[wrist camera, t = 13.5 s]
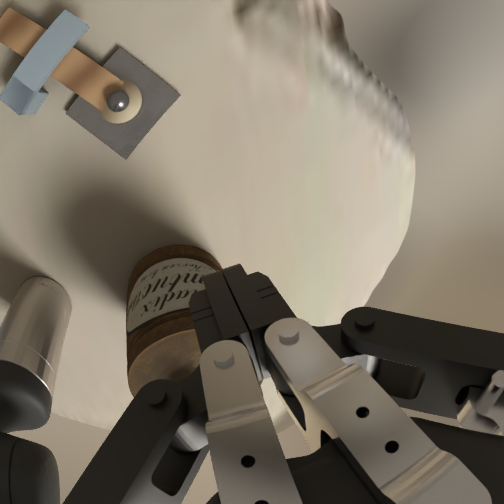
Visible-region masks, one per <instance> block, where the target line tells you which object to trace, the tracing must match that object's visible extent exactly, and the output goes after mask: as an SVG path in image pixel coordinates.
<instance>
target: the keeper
mask: <svg viewBox="0 0 504 504" xmlns="http://www.w3.org/2000/svg"><path fill="white" fill-rule="evenodd" d="M89 28H90V27H89V25H88V24H86V23H85V22H83V21H82V20H80V19H79V18H77V17H76V16H75V15H73V14H72V13H70V12H69V11H67V10H66V9H65V10H64V11H63V12H62V13H61V14H60V15H59V16H58V18H57V19H56V20H55V21H54V22H53V23H52V24H51V25H50V27H49V28H48V29H47V30H46V31H45V33H44V34H43V35H42V36H41V37H40V39H39V40H38V41H37V42H36V44H35V45H34V46H33V48H32V49H31V50H30V51H29V53H28V54H27V56H26V57H25V58H24V60H23V61H22V62H21V64H20V65H19V67H18V68H17V70H16V71H15V72H14V74H13V75H12V77H11V78H10V80H9V82H8V83H7V85H6V86H5V88H4V89H3V91H2V93H1V94H0V100H1V101H2V102H3V103H5V104H6V105H7V106H8V107H10V108H11V109H12V110H13V111H15V112H16V113H17V114H18V115H26V114H35V113H36V112H37V110H38V109H39V107H40V106H41V104H42V103H43V101H44V100H45V98H46V97H47V95H48V93H47V92H46V91H45V90H43V89H42V88H41V87H42V86H43V84H44V83H45V81H46V80H47V79H48V77H49V76H50V75H51V73H52V72H53V71H54V69H55V68H56V67H57V65H58V64H59V63H60V62H61V60H62V59H63V58H64V57H65V55H66V54H67V53H68V52H69V51H70V49H71V48H72V47H73V46H74V45H75V44H76V42H77V41H78V40H79V39H80V38H81V37H82V36H83V35H84V34H85V32H86V31H87V30H88V29H89Z"/></svg>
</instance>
